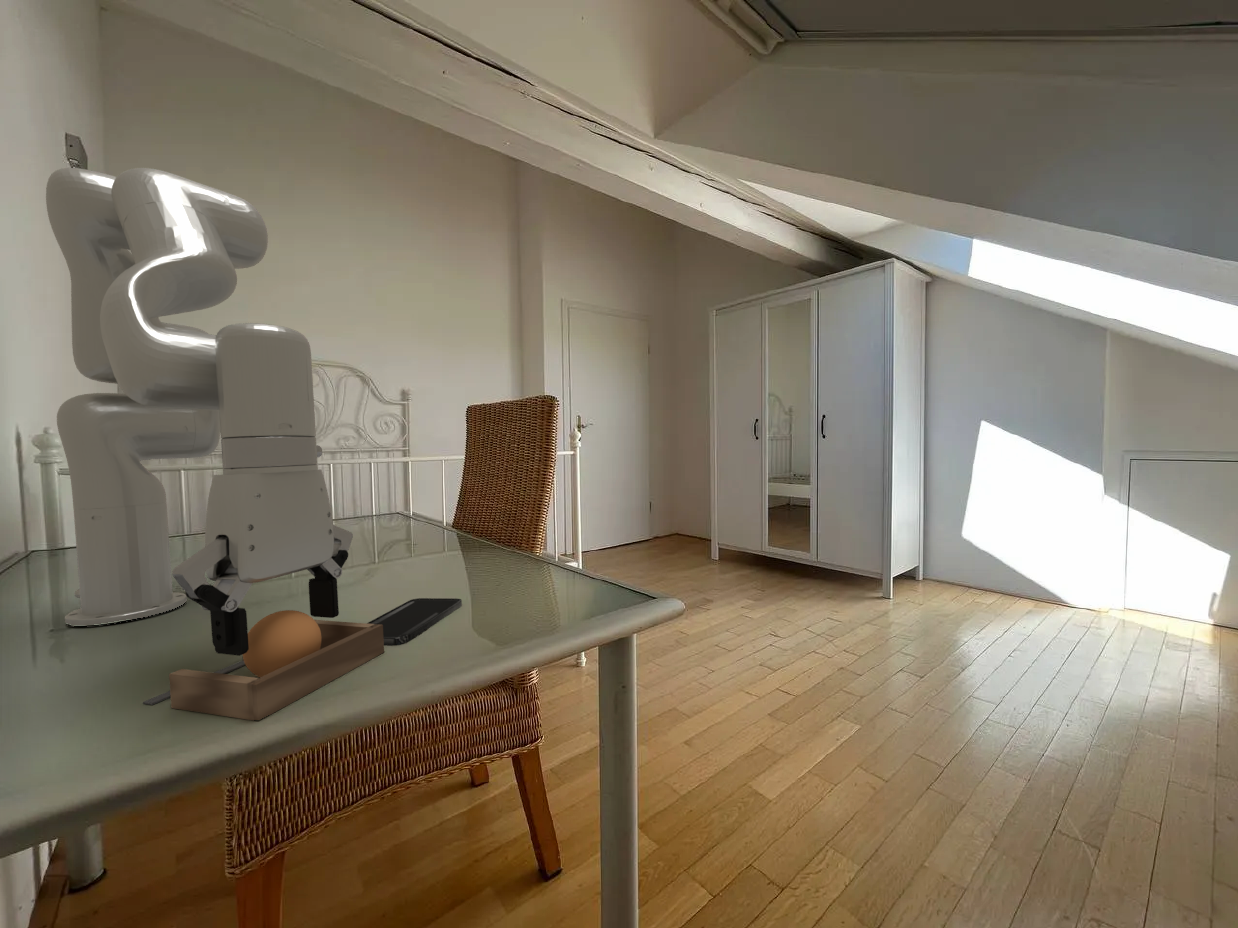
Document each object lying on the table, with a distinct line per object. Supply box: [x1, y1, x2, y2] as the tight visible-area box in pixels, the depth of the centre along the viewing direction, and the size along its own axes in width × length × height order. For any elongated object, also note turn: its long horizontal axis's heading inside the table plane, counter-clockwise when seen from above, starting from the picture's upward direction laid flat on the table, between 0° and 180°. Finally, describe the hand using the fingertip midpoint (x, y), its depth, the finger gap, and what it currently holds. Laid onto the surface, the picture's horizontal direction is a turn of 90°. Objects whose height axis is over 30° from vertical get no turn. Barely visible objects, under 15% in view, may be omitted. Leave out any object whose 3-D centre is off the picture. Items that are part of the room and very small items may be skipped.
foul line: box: [142, 660, 246, 706], centre depth 51 cm, size 1×14×1 cm, turn 164°
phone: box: [366, 597, 463, 646], centre depth 64 cm, size 8×1×15 cm
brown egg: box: [242, 609, 321, 678], centre depth 49 cm, size 6×6×6 cm
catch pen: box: [168, 619, 385, 721], centre depth 49 cm, size 10×14×3 cm
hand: (282, 632), depth 49 cm, fingers open, 9 cm apart
